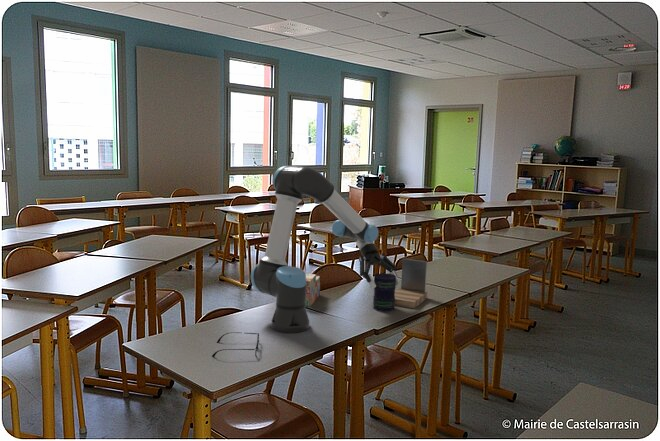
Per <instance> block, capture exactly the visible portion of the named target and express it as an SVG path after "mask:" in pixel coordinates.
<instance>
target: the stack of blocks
mask: <svg viewBox="0 0 660 441" xmlns="http://www.w3.org/2000/svg"><path fill="white" fill-rule="evenodd" d="M305 274H306V303H305V308H307V307H308V308H310V307H311V306H312V305H313V304H314V303H315V301H316V300H317V298H318V297H320V295H321V294H320V291H321V282H320V281H321V277H320V275H317V274H313V273H311V274H310V273H305Z"/></svg>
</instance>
